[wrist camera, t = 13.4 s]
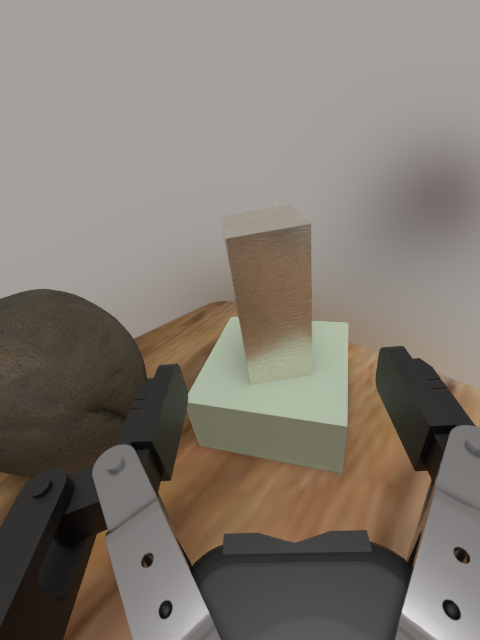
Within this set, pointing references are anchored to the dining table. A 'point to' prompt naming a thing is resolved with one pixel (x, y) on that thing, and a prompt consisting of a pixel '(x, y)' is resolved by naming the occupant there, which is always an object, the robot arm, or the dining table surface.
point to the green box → (275, 403)
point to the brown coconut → (62, 381)
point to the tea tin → (272, 290)
